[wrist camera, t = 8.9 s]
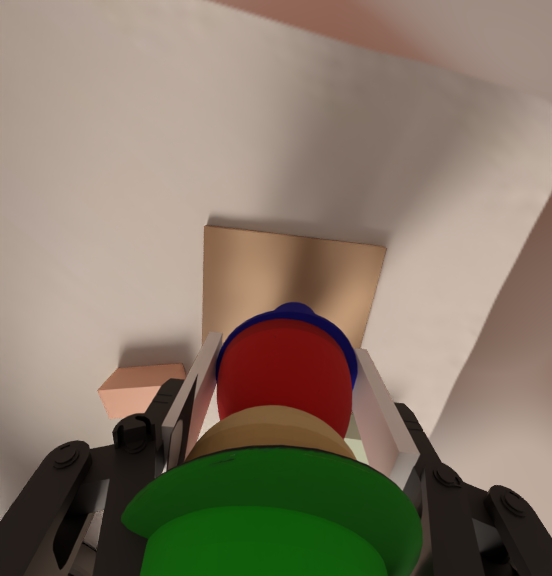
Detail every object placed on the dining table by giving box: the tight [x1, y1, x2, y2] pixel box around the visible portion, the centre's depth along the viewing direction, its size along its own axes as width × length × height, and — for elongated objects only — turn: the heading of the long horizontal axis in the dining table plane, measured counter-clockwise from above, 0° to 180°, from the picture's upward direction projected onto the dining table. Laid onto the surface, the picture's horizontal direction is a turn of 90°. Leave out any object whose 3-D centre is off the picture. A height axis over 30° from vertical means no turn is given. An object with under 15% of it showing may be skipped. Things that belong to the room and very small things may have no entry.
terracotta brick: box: [97, 363, 186, 419], centre depth 23 cm, size 6×3×3 cm, turn 97°
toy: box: [121, 302, 423, 576], centre depth 11 cm, size 9×9×15 cm
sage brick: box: [344, 414, 369, 465], centre depth 24 cm, size 6×3×3 cm, turn 80°
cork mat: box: [202, 225, 387, 350], centre depth 21 cm, size 13×13×1 cm
